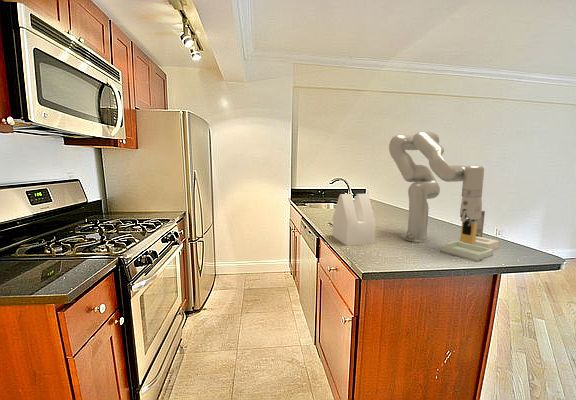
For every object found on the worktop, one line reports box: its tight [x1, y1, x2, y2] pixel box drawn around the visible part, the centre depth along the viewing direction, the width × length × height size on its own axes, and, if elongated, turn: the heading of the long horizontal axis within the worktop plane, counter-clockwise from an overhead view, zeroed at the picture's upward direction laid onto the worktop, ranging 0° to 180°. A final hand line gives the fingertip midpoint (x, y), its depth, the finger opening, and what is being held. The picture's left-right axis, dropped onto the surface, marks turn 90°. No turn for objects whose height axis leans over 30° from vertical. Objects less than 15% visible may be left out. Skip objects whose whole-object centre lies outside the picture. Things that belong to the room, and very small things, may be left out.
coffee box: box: [476, 210, 486, 238], centre depth 146 cm, size 9×6×16 cm
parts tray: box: [439, 240, 495, 263], centre depth 125 cm, size 14×16×3 cm
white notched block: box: [332, 193, 377, 246], centre depth 146 cm, size 19×15×25 cm
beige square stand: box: [463, 236, 500, 251], centre depth 134 cm, size 11×11×4 cm
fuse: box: [459, 220, 478, 244], centre depth 124 cm, size 3×5×10 cm, turn 32°
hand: (468, 233), depth 124 cm, fingers closed on fuse, 3 cm apart
